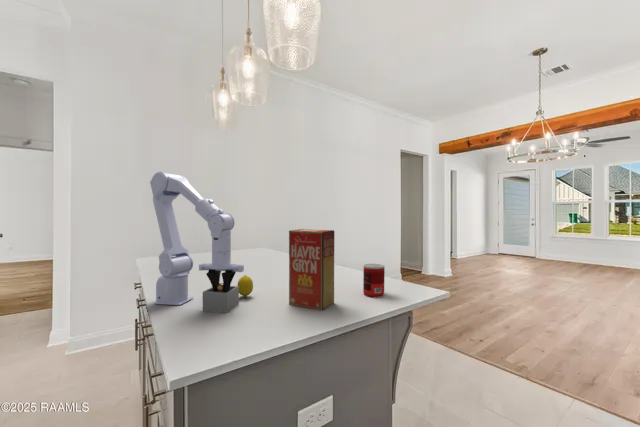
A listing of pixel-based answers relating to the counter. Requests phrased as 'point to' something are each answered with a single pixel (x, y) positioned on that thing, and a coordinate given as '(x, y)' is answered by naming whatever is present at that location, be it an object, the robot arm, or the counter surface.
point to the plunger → (220, 287)
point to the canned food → (373, 280)
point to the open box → (220, 300)
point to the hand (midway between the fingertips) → (221, 293)
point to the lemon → (245, 285)
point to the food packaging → (311, 268)
